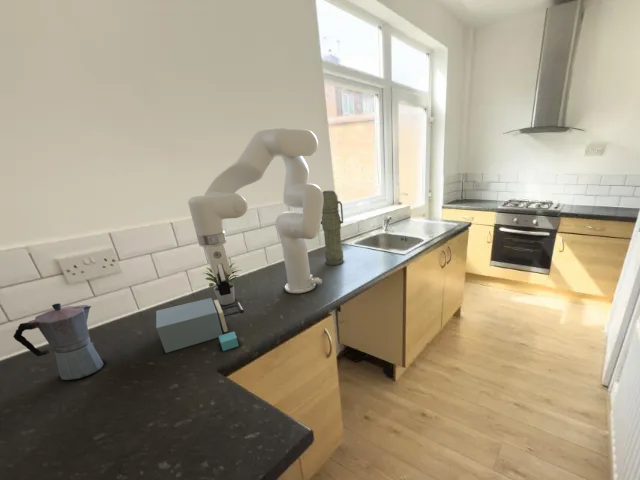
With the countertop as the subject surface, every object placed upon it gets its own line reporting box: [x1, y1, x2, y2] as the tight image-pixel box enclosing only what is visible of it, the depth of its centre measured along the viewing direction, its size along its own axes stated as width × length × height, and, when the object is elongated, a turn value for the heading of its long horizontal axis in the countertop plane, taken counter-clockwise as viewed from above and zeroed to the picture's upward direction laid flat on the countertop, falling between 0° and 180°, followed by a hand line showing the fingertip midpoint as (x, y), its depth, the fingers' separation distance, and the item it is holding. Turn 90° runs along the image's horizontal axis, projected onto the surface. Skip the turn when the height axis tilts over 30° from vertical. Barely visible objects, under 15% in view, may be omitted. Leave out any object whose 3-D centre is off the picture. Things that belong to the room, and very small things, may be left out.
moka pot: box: [13, 302, 104, 381], centre depth 82 cm, size 10×15×20 cm, turn 161°
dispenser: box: [155, 297, 224, 354], centre depth 100 cm, size 16×13×9 cm
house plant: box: [201, 262, 242, 306], centre depth 119 cm, size 14×14×16 cm
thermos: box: [321, 190, 344, 266], centre depth 155 cm, size 9×12×35 cm
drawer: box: [213, 299, 245, 333], centre depth 103 cm, size 21×11×7 cm, turn 123°
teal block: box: [218, 331, 240, 352], centre depth 96 cm, size 4×4×3 cm
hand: (225, 293), depth 103 cm, fingers closed
